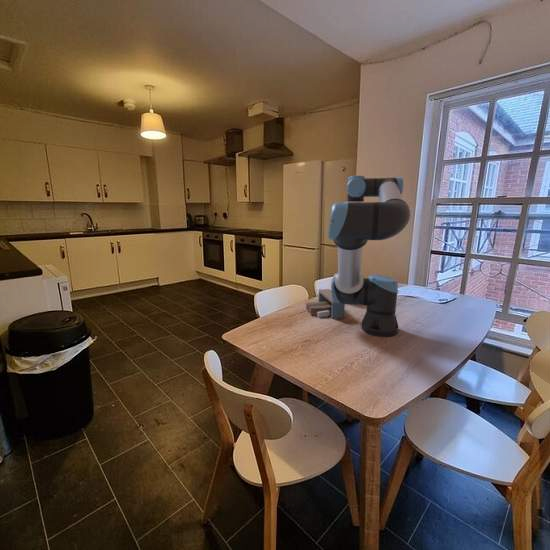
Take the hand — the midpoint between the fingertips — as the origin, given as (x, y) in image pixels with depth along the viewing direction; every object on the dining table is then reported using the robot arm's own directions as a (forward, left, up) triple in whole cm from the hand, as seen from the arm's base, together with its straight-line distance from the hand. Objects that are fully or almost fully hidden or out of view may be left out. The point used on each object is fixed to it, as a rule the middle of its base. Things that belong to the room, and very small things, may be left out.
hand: (352, 260), depth 141 cm
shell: (+5, +14, -27) cm, 30 cm away
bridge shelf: (+4, +12, -26) cm, 29 cm away
